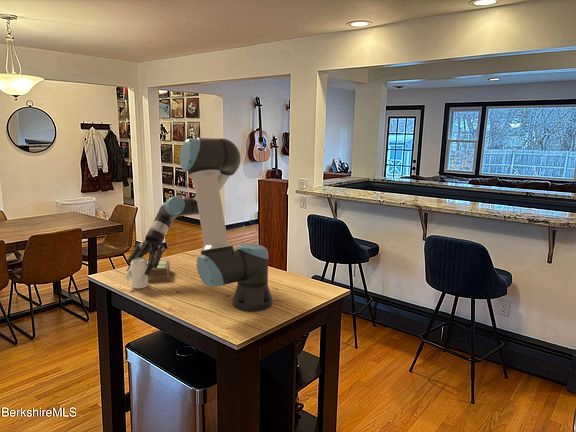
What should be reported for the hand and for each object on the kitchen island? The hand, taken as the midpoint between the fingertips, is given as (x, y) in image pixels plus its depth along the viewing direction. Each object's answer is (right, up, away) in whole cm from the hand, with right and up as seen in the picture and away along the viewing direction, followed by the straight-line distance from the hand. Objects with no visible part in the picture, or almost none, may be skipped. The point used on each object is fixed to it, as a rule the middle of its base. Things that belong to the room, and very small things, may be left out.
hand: (134, 280), depth 172 cm
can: (+1, -3, +4) cm, 6 cm away
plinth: (+3, -1, +18) cm, 18 cm away
